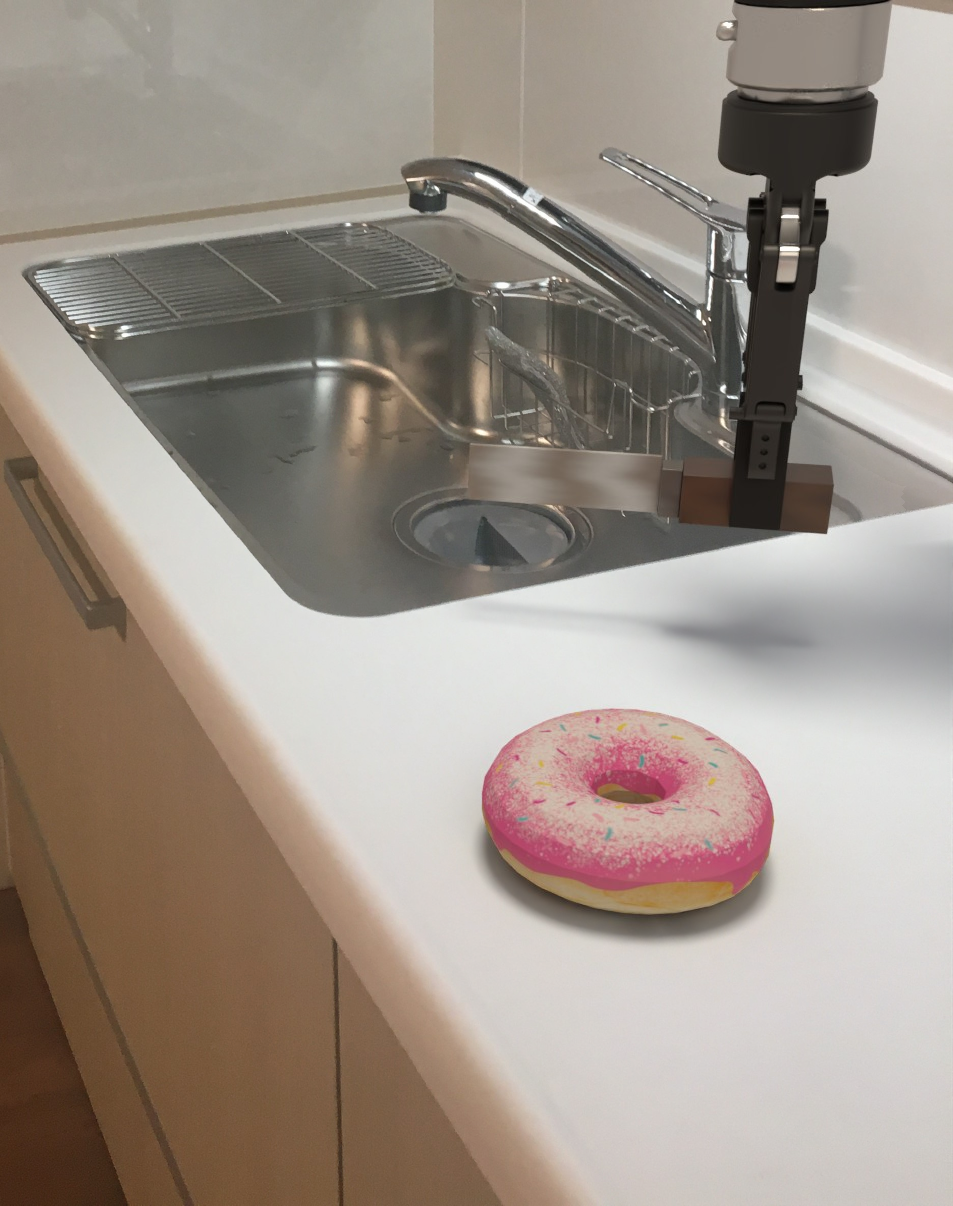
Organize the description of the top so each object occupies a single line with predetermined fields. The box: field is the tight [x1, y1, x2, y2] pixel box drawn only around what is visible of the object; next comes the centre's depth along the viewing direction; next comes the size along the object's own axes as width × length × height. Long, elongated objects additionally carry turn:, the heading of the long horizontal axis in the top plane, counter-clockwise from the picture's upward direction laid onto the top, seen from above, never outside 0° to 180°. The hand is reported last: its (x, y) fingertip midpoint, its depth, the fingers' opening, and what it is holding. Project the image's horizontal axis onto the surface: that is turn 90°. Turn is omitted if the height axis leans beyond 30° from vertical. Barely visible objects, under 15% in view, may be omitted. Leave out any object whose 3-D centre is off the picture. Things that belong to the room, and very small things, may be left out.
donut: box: [481, 708, 775, 915], centre depth 78 cm, size 14×13×5 cm
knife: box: [467, 442, 835, 535], centre depth 95 cm, size 20×3×4 cm, turn 73°
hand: (753, 512), depth 94 cm, fingers closed on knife, 3 cm apart
